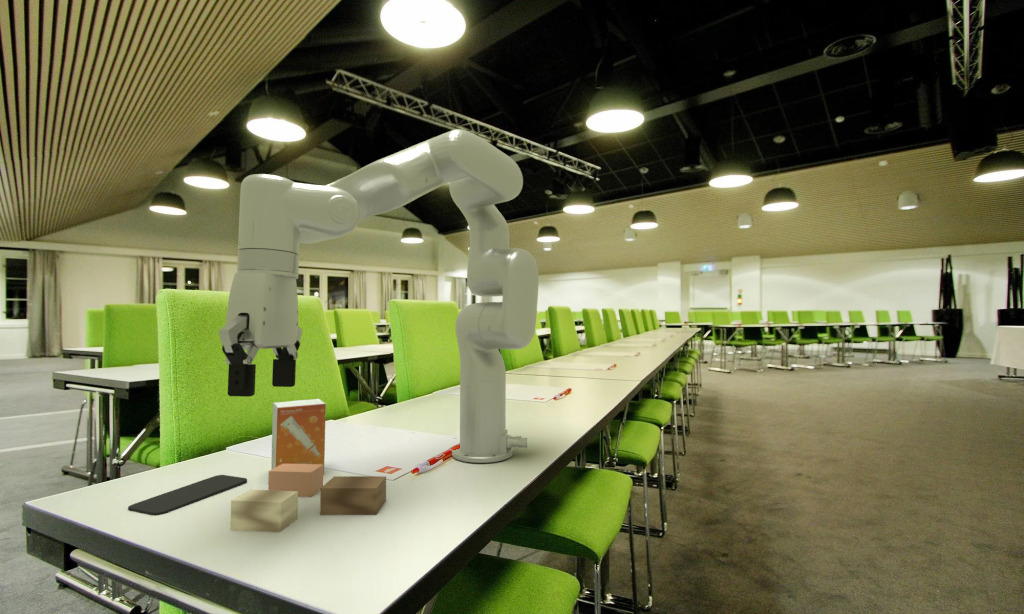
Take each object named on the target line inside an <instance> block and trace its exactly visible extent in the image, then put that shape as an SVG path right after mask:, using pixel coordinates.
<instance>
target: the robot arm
mask: <svg viewBox="0 0 1024 614" xmlns="http://www.w3.org/2000/svg"><path fill="white" fill-rule="evenodd" d="M448 183H449V185H448V186H449V187H448V188H449V194H450V196H451V198H452V201H453V202H454V203H455V205H456V206H457V208H459V210H460V212H461V213H462V215H463V216H464V218H465V220H466V221H467V224H468V228H469V246H468V247H469V248H468V258H467V259H468V260H467V268H466V269H467V270H466V271H467V272H466V283H467V286H468V289H469V291H470V292H471V293H472V294H473V295H475V296H479V297H502V300H501V301H498V302H497V301H489V302H488V301H487V302H475V303H471V304H469V305H466V306H464V307H463V308H462V309H461V310H460V311H459V313H458V315H457V316H456V319H455V325H454V326H455V328H454V329H455V335H456V340H457V345H458V353H459V370H460V372H459V445H460V448H459V449H456V450H453V449H452V450H453V451H452V450H451V455H452V457H453V458H454V459H456V460H457V461H461V462H465V463H473V464H475V463H476V464H489V463H496V462H501V461H505V460H507V459H510V458H511V457H512V456H513V454H514V449H513V448H521V449H522V448H524V449H525V448H526V449H527V448H528V437H522V436H521V435H520V436H519V435H515V436H511V434H508V433H509V429H507V428H506V427H507V426H506V424H507V423H506V420H507V419H506V417H507V416H506V415H507V414H506V412H507V409H506V402H507V401H506V400H507V399H506V394H507V393H506V381H507V380H506V379H507V378H506V376H507V375H506V374H507V373H506V372H507V371H506V365H505V362H504V358H503V356H502V354H501V352H500V350H521V349H524V348H526V347H527V346H528V345H530V344H531V342H532V340H533V338H534V335H535V331H536V326H537V316H538V315H537V312H538V297H539V285H540V280H539V279H540V274H539V269H538V265H537V264H538V263H537V261H536V259H535V258H534V256H533V254H531V252H529V251H528V250H526V249H525V248H524V249H523V248H520V247H519V248H518V247H512V248H510V229H509V225H508V222H507V220H506V219H505V217H504V215H502V213H501V212H500V211H499V210H498V207H497V206H496V205H497V204H501V203H505V202H509V201H511V200H514V199H515V198H516V197H518V196H519V195H520V193H521V192H522V189H523V185H524V176H523V173H522V171H521V168H520V167H519V165H518V163H516V161H515V160H514V159H513V158H511V157H510V156H509V155H508V154H506V153H504V152H503V151H501V150H500V149H498V148H497V147H496V146H494V145H493V144H492V143H489V142H488V141H486V140H485V139H483V138H482V137H480V136H478V135H477V134H475V133H472V132H470V131H468V130H465V129H461V128H458V129H457V128H456V129H451V130H450V131H447V132H444V133H442V134H439V135H437V136H433V137H431V138H429V139H426V140H425V141H422V142H419V143H417V144H414V145H411V146H410V147H409V146H408V148H407V147H406V148H405V149H402V150H399V151H398V152H394V153H393V154H390V155H387V156H385V157H382V158H380V159H377V160H375V161H373V162H371V163H369V164H366V165H365V166H363V167H361V168H359V169H357V170H356V171H354V172H352V173H350V174H348V175H346V176H344V177H342V178H339V179H336V180H335V181H332V182H331V183H328V184H324V185H323V184H321V185H320V184H312V183H303V182H295V181H293V180H292V179H289V178H287V177H283V176H280V175H275V174H268V173H267V174H266V173H258V174H257V173H255V174H250V175H247V176H246V177H244V178H243V180H242V181H241V184H240V191H239V194H240V195H239V214H238V215H239V218H238V219H239V220H238V239H237V244H238V245H237V259H236V260H237V264H236V265H237V266H236V272H235V273H234V276H233V279H232V282H231V286H230V290H229V295H228V301H227V309H226V310H227V311H226V319H225V325H224V326H222V327H221V328H220V329H219V331H218V335H219V340H220V342H221V346H222V347H221V350H222V353H223V354H224V355H225V364H227V365H228V372H227V373H228V374H227V375H228V377H227V395H228V396H229V397H249V398H250V397H253V396H255V393H256V391H255V390H256V367H257V364H255V363H253V362H254V360H255V358H256V355H257V354H258V352H259V350H260V349H263V350H264V349H272V351H273V353H274V356H275V357H276V358H275V359H273V360H272V375H271V376H272V378H271V385H272V386H273V388H274V387H275V388H292V387H295V386H296V373H297V372H296V369H297V359H298V357H299V353H298V351H299V349H300V347H301V343H300V342H301V338H302V335H303V329H302V328H301V327H300V326H299V297H298V287H297V280H298V279H299V267H300V266H299V264H300V262H299V260H300V256H299V255H300V244H306V245H311V244H316V243H319V242H324V241H329V240H334V239H337V238H342V237H345V236H347V235H349V234H351V233H352V232H353V231H354V230H355V229H356V228H357V227H358V225H359V223H360V221H361V220H364V219H368V218H371V217H373V216H376V215H377V216H378V215H381V214H384V213H388V212H392V211H394V210H396V209H399V208H401V207H403V206H406V205H407V204H410V203H411V202H413V201H415V200H417V199H418V198H420V197H422V196H424V195H426V194H428V193H430V192H432V191H434V190H436V189H438V188H441V187H443V186H444V185H446V184H448ZM245 350H246V351H245Z"/></svg>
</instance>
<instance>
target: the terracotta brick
mask: <svg viewBox="0 0 1024 614" xmlns="http://www.w3.org/2000/svg"><path fill="white" fill-rule="evenodd" d="M322 486H324V475H323V464H281V465H280V466H278V467H276V468H274V469H272V470H271V469H270V470H269V471H268V489H267V490H277V491H298V498H299V497H300V498H303V497H305V498H312V497H314V495H315V494H317V493H318V492H320V491H321V487H322Z"/></svg>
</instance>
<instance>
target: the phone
mask: <svg viewBox="0 0 1024 614" xmlns="http://www.w3.org/2000/svg"><path fill="white" fill-rule="evenodd" d="M247 483H248V479H247V478H246V477H241V476H235V475H226V474H219V475H214V476H210V477H208V478H206V479H205V478H204V479H202V480H199V481H195V482H194V483H191V484H187V485H184V486H182V487H179V488H176V489H173V490H170V491H167V492H165V493H162V494H159V495H155V496H153V497H150V498H147V499H145V500H141V501H139V502H135V503H132V504H131V505H128V508H127V511H129V512H134V513H139V514H144V515H148V516H161V515H165V514H169V513H171V512H173V511H176V510H179V509H181V508H184V507H186V506H190V505H192V504H195V503H198V502H201V501H203V500H206V499H208V498H211V497H214V496H217V495H220V494H221V493H222V494H223V493H224V492H227V491H230V490H234V489H235V488H238V487H241V486H244V485H246V484H247Z"/></svg>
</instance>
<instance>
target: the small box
mask: <svg viewBox="0 0 1024 614" xmlns="http://www.w3.org/2000/svg"><path fill="white" fill-rule="evenodd" d="M326 408H327V404H326V402H324V400H322V399H320V398H315V399H313V398H312V399H299V400H290V401H280V402H279V401H277V402H272V422H271V423H272V427H271V428H272V429H271V431H272V433H271V467H270V470H272V469H274V468H276V467H278V466H280V465H281V464H323V476H325V457H326V456H325V455H326V454H325V450H326V412H327V411H326V410H327V409H326Z"/></svg>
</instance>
